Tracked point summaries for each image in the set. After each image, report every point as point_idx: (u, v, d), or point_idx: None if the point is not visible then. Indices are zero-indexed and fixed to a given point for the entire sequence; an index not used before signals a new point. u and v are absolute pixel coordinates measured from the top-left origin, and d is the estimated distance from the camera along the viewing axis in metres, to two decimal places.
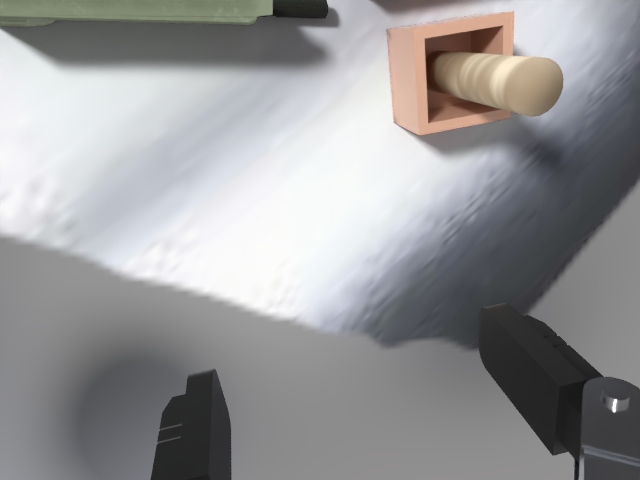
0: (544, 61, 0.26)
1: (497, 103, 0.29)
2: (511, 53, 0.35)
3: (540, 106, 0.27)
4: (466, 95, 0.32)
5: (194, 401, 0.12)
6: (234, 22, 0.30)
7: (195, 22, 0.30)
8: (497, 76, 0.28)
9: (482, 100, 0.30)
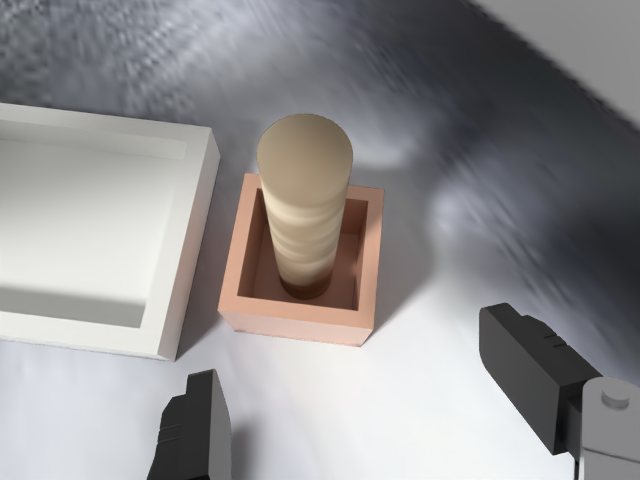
0: (265, 140, 0.16)
1: (325, 216, 0.17)
2: None
3: (338, 151, 0.16)
4: (321, 254, 0.21)
5: (194, 401, 0.12)
6: None
7: None
8: (280, 212, 0.17)
9: (325, 235, 0.19)
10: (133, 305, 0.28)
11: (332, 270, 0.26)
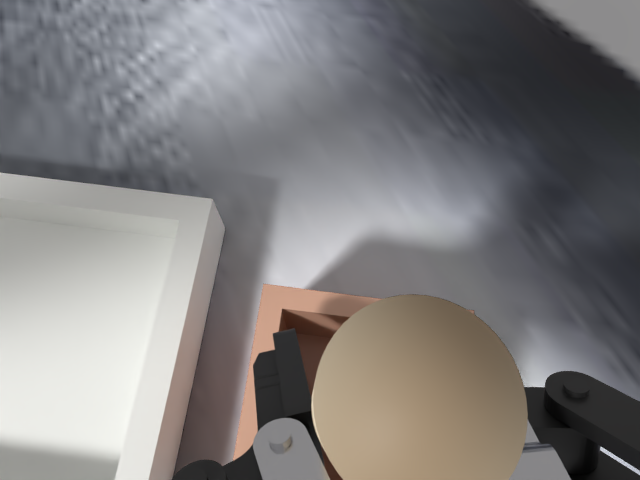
0: (332, 362, 0.07)
1: None
2: (340, 296, 0.17)
3: (493, 390, 0.07)
4: None
5: (284, 354, 0.13)
6: None
7: None
8: None
9: None
10: (99, 461, 0.19)
11: None
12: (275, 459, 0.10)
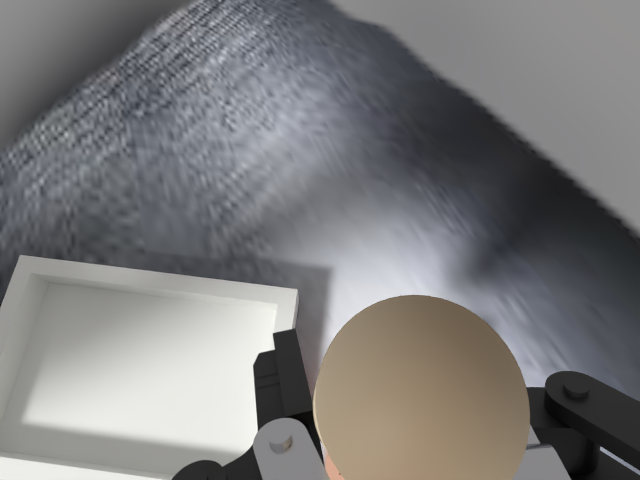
0: (335, 363, 0.07)
1: None
2: None
3: (495, 390, 0.07)
4: None
5: (284, 353, 0.13)
6: None
7: None
8: None
9: None
10: (232, 455, 0.31)
11: None
12: (275, 459, 0.10)
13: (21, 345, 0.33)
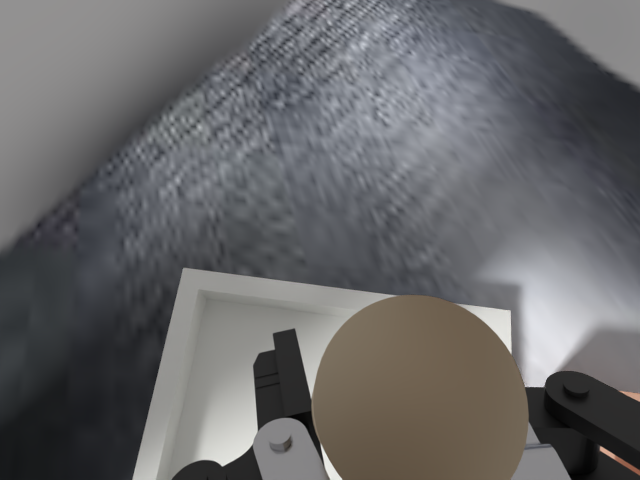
0: (332, 363, 0.07)
1: None
2: None
3: (493, 390, 0.07)
4: None
5: (284, 353, 0.13)
6: None
7: None
8: None
9: None
10: None
11: None
12: (275, 459, 0.10)
13: (187, 374, 0.28)
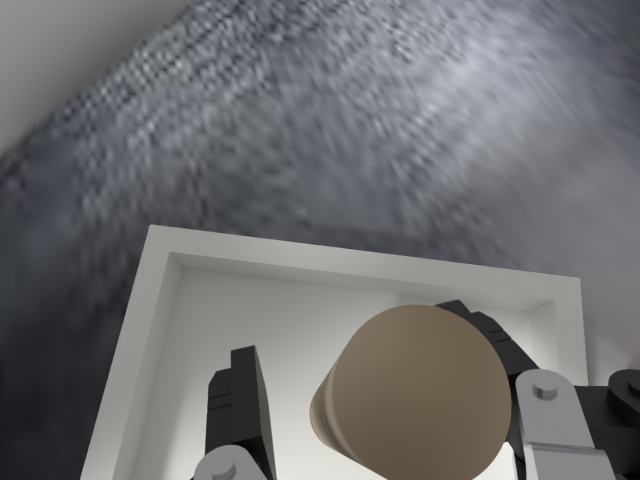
0: (350, 361, 0.09)
1: None
2: None
3: (483, 384, 0.09)
4: None
5: (239, 373, 0.12)
6: None
7: None
8: (363, 465, 0.10)
9: None
10: None
11: None
12: None
13: (155, 363, 0.21)
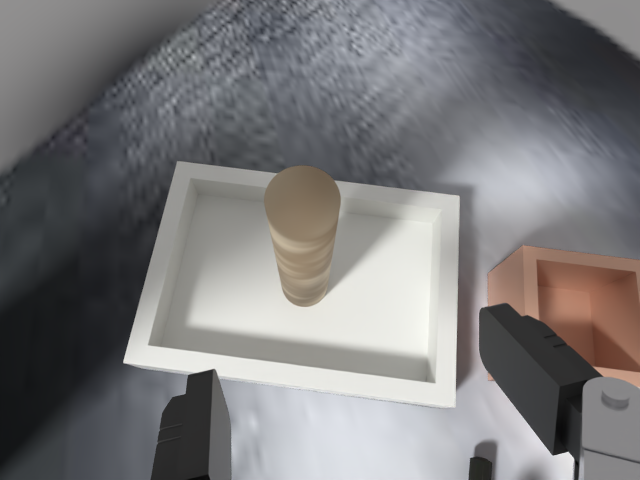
0: (271, 187, 0.20)
1: (319, 246, 0.21)
2: (568, 252, 0.29)
3: (329, 196, 0.20)
4: (316, 272, 0.25)
5: (194, 401, 0.12)
6: None
7: None
8: (282, 243, 0.21)
9: (319, 259, 0.23)
10: (402, 357, 0.31)
11: (327, 282, 0.30)
12: None
13: (180, 251, 0.33)
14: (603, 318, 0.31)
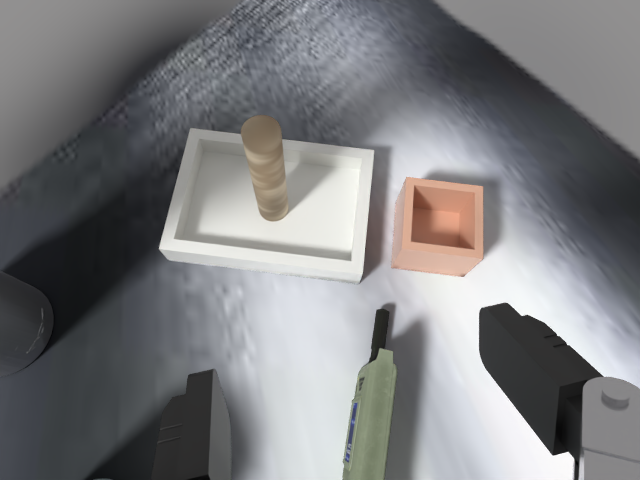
0: (244, 126, 0.37)
1: (271, 160, 0.39)
2: (434, 181, 0.46)
3: (275, 130, 0.37)
4: (274, 184, 0.42)
5: (194, 401, 0.12)
6: (395, 382, 0.39)
7: (391, 413, 0.38)
8: (251, 158, 0.38)
9: (274, 171, 0.40)
10: (335, 252, 0.49)
11: (286, 201, 0.47)
12: None
13: (192, 186, 0.50)
14: (463, 226, 0.49)
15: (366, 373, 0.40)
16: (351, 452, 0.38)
